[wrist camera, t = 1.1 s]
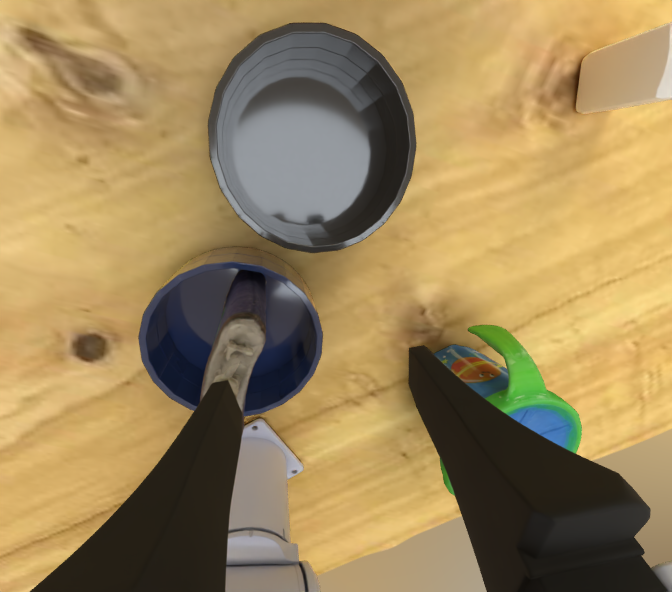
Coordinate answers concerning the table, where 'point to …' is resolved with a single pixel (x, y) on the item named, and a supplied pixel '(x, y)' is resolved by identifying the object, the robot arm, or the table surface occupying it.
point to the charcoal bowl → (312, 137)
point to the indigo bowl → (204, 319)
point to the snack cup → (513, 388)
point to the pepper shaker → (627, 73)
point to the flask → (238, 336)
